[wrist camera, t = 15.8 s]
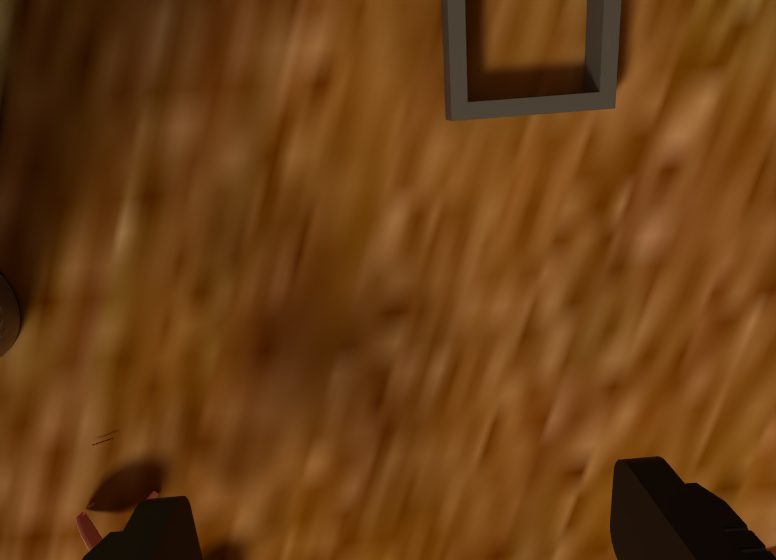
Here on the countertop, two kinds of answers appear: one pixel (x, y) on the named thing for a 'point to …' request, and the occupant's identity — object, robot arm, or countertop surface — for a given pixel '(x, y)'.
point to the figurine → (88, 529)
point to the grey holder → (596, 96)
